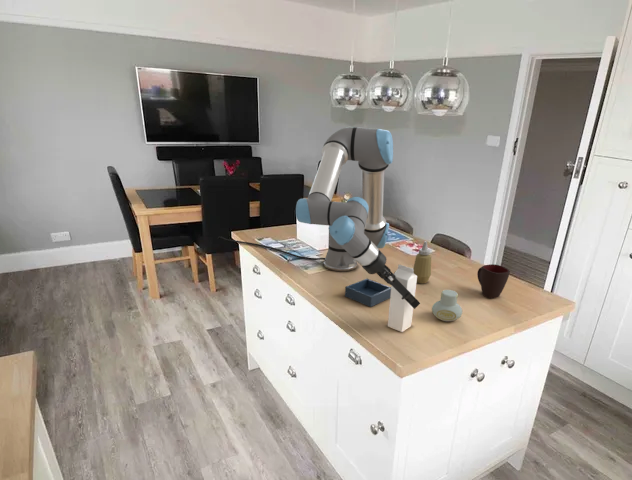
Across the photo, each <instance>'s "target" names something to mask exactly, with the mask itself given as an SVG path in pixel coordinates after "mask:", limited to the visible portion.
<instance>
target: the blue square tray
mask: <svg viewBox="0 0 632 480" xmlns="http://www.w3.org/2000/svg"><path fill="white" fill-rule="evenodd" d="M344 290H345V291H344V297H345V298H348V299H350V300H353V301H355V302H357V303H360V304H362V305H364V306H367V307H369V308H372V307H375V306H376V305H379V304H380V303H383V302H385V301H387V300H390V296H391V286H389V285H386V284H383V283H381V282H378V281H375V280H373V279H369V278H364V279H362V280H359V281H357V282H354V283H352V284H348V285H347V286H345V287H344Z"/></svg>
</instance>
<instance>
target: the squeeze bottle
mask: <svg viewBox="0 0 632 480" xmlns="http://www.w3.org/2000/svg"><path fill="white" fill-rule="evenodd" d="M412 268H413V269H414V271H413V273H414V274H415V275H417V282H416V284H417V283H418V284H427V283H428V281H429V279H430V277H431V276H432V255H431V250H430V249H429V248H428V241H424V242H423V244H422V247H421V248H419V249H418V253H417V254H416V255H415V259H414V264H413V267H412Z"/></svg>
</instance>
